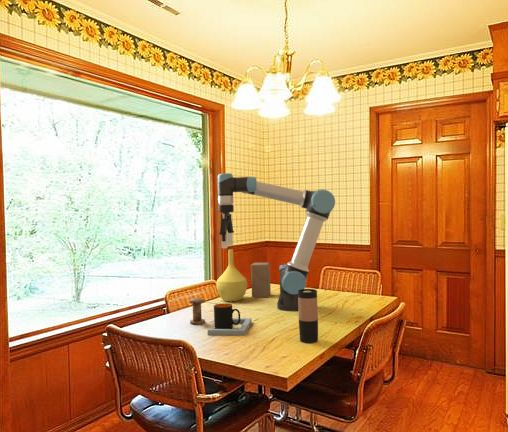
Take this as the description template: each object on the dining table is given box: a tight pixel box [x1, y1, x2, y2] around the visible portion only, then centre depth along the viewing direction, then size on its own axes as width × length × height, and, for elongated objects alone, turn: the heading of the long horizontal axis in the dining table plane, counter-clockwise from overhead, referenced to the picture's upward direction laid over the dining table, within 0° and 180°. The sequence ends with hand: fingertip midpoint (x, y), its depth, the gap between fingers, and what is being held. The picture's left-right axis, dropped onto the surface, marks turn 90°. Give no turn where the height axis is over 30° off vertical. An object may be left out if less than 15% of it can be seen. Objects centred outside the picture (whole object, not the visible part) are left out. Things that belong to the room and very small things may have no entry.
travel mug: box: [297, 288, 319, 344], centre depth 167 cm, size 8×8×20 cm
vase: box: [216, 249, 248, 303], centre depth 247 cm, size 18×18×30 cm
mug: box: [213, 303, 241, 329], centre depth 188 cm, size 8×12×10 cm
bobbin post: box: [189, 297, 206, 326], centre depth 199 cm, size 7×7×11 cm
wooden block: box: [250, 262, 272, 299], centre depth 256 cm, size 10×10×20 cm
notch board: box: [207, 317, 253, 336], centre depth 188 cm, size 16×20×2 cm
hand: (227, 246), depth 210 cm, fingers open, 13 cm apart
